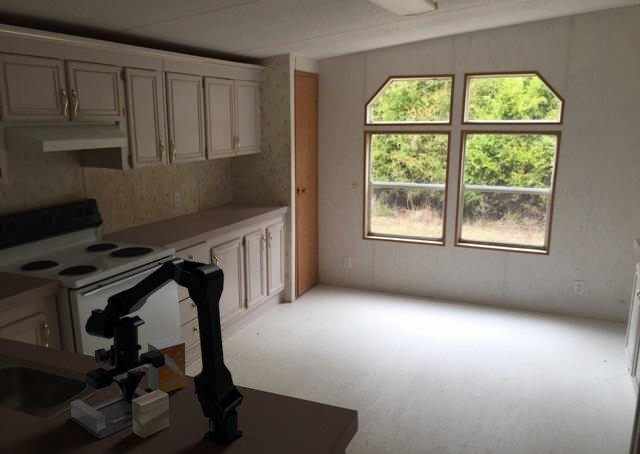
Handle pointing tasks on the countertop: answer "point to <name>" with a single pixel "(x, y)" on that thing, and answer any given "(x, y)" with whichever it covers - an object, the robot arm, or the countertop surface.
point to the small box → (168, 365)
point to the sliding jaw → (136, 393)
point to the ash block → (150, 413)
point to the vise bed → (112, 416)
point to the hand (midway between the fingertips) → (128, 400)
